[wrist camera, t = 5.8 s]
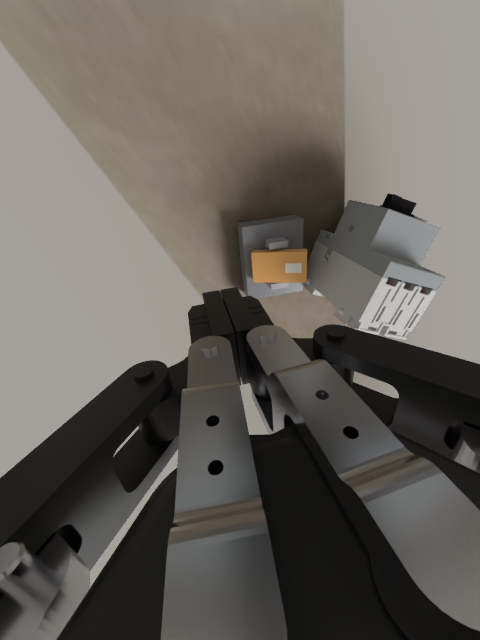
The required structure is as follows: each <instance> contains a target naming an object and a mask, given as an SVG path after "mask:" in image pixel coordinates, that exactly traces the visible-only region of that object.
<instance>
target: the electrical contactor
mask: <svg viewBox="0 0 480 640" xmlns="http://www.w3.org/2000/svg"><path fill="white" fill-rule="evenodd" d="M415 205H416V203H414V202H410V201H408V200H405V199H402V198H401V197H399V196H397V195H394V194H393V195H391V194H388V195H387V197H386V199H385V201H384V203H383V205H381V206H375V205H370V204H366V203H361V202H356V201H352V200H349V201H348V203H347V206H346V208H345V210H344V213H343V215H342V217H341V219H340V222H339V224H338V226H337V229H336V231H335V233H332V232H328V231H325V230H322V229H321V230H320V233H319V235H318V237H317V240H316V242H315V245H314V247H313V250H312V252H311V255H310V257H309V260H308V262H307V281H306V283H302V284H304V287H305V288H306V289H307V290H308V291H309V292H310V293H311V294H314V295H318V296H323V297H325V298H326V299H328V300H329V301H330V302H331V303H332V304H333V305H334V306H335V307H337V309H336V311H335V313H334V315H335V316H336V317H337V318H338V319H339V320H340V321H341V322H342V323H343V324H345V325H348V326H350V327H351V328H353V329H356V330H360V331H363V332H367V333H370V334H376V335H378V334H379V333H380V334H382V335H383V336H387V337H393V338H398V339H404V340H406V339H407V338H406V335H407V333H408V332H411V331H412V330H413V328H414V327H415V325H416V323H417V322H418V320H419V319H420V317H421V316H422V314H423V313H424V311H425V309H426V308H427V306H428V305H429V303H430V301H431V300H432V298H433V297H434V295H435V294H436V292H437V290H438V288H439V287H440V286H441V284H442V282H443V281H444V279H445V277H444V276H442V275H440V274H437V273H435V272H433V271H430V270H428V269H426V268H423V267H421V266H420V264H421V262H422V260H423V258H424V257H425V255H426V253H427V251H428V250H429V248H430V246H431V244H432V243H433V241H434V239H435V237H436V236H437V234H438V232H439V230H440V229H441V228H439V227H437V226H434V225H431V224H428V223H427V221H426V220H423V219H421V218H418V217H415V216H414V215H412V214H411V213H412V211H413V209H414V207H415Z"/></svg>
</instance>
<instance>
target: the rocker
mask: <svg viewBox="0 0 480 640" xmlns="http://www.w3.org/2000/svg"><path fill="white" fill-rule="evenodd" d="M251 258H252V270H253V283H306V281H307V249H272V250H253V251H252V252H251Z"/></svg>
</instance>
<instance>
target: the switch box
mask: <svg viewBox="0 0 480 640" xmlns="http://www.w3.org/2000/svg"><path fill="white" fill-rule="evenodd" d="M303 221H304V218H302V217H300V216H297V215H295V214H294V215H287V216H280V217H273V218H266V219H259V220H252V221H246V222H239V223H237V228H238V238H239V249H240V259H241V269H242V279H243V289H244V293H245V295H246V296H252V297H254V298H256V299H258V298H264V297H269V296H275V295H280V294H285V293H291V292H296V291H302V283H253V270H252V258H251V252H252V251H253V250H272V249H303Z"/></svg>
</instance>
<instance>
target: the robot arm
mask: <svg viewBox="0 0 480 640" xmlns="http://www.w3.org/2000/svg"><path fill="white" fill-rule="evenodd" d="M202 294H203V300H204V304H202V305H197V306H192V308H191V309H190V311H189V312H188V317H189V325H190V335H191V344H192V345H191V346H190V348H189V353H188V356H187V357H186V358H185V359H184V360H183V361H181V362H179V363H178V364H175V365H173V366H171V367H169V368H167V366H166V365H165V364H164V363H162V362H160V361H145V362H141V363H138V364H136V365H134V366H132V367H131V368H129V369H128V370H127V371H125V372H124V373H123V374H122V375H121V376H120V377H118V378H117V379H116V380H115V381H114V382H113V383H112V384H110V385H109V386H108V387H107V388H106V389H104V390H103V391H102V392H101V393H100V394H99V395H97V396H96V397H95V398H94V399H93V400H91V401H90V402H89V403H88V404H87V405H86V406H85V407H83V408H82V409H81V410H80V411H79V412H77V413H76V414H75V415H74V416H73V417H72V418H70V419H69V420H68V421H67V422H66V423H64V424H63V425H62V426H61V427H60V428H59V429H57V430H56V431H55V432H54V433H53V434H52V435H51V436H49V437H48V438H47V439H46V440H45V441H44V442H42V443H41V444H40V445H39V446H38V447H36V448H35V449H34V450H33V451H32V452H30V453H29V454H28V455H27V456H26V457H25V458H24V459H22V460H21V461H20V462H19V463H18V464H16V465H15V466H14V467H13V468H12V469H11V470H9V471H8V472H7V473H6V474H5V475H4V476H2V477H1V478H0V640H480V364H477V363H473V362H470V361H466V360H462V359H459V358H456V357H452V356H448V355H444V354H441V353H438V352H434V351H430V350H427V349H424V348H420V347H416V346H413V345H409V344H406V343H402V342H399V341H395V340H392V339H388V338H385V337H381V336H378V335H374V334H370V333H367V332H363V331H360V330H356V329H353V328H349V327H346V326H342V325H325V326H322V327H319V328H318V329H316V330H315V332H314V335H313V338H291V336H290V335H289V334H288V333H287V332H286V331H285V330H284V329H283V328H281V327H278V326H274V324H273V323H272V321H271V320H270V318H269V316H268V315H267V313H266V312H265V310H264V308H263V307H262V305H261V304H260V302H259V300H257V299H256V298H254V297H252V296H246V297H242V296H241V294H240V292H239V290H238V289H237V287H234V288H229V289H223V290H220V292H219V290H218V291H212V292H206V293H202ZM354 371H356V372H358V373H362V374H364V375H367V376H369V377H372V378H375V379H377V380H380V381H383V382H386V383H388V384H390V385H392V386H393V387H394V388H395V389H396V390H397V391H398V393H399V398H392V397H390V396H387V395H384V394H382V393H379V392H377V391H374V390H372V389H369V388H367V387H364V386H362V385H359V384H357V383H354V382H353V376H354ZM240 377H241V380H242V383H243V384H247V383H250V385H251V387H252V396H253V401H254V403H255V405H256V407H257V410H258V412H259V414H260V416H261V418H262V421H263V423H264V425H265V427H266V429H267V432H268V434H269V435H249V432H248V427H247V422H246V417H245V412H244V406H243V401H242V396H241V391H240V386H239V385H241V380H240ZM137 426H138V427H139V429H138V430H137V431H136V432H135V434H134V435H133V436H132V437H131V438H130V439H129V440H128V442H126V444H125V445H124V446H123V447H122V448H121V449H120V450H119V451H118V452H117V454H116V455H115V456H114V453H115V452H116V450H117V448H118V447H119V446H120V445H121V444H122V443H123V442H124V441H125V439H126V438H127V437H128V436H129V435H130V434H131V433H132V431H134V430H135V428H136V427H137ZM177 449H178V464H177V468H176V469H175V470H174V471H173V472H171V473H170V474H169V475H168V476H167V477H166V478H165V479H164V480H163V481H162V482H161V484H160V485H159V486H158V487H157V489H156V490H155V491H154V492H153V494H152V495H151V497H150V498H149V500H148V501H147V503H146V504H145V506H144V508H143V509H142V510H141V512H140V513H139V515H138V517H137V518H136V520H135V521H134V523H133V524H132V526H131V527H130V529H129V530H128V532H127V533H126V535H125V536H124V538H123V539H122V541H121V542H120V544H119V545H118V547H117V548H116V550H115V551H114V553H113V554H112V556H111V558H110V559H109V560H108V562H107V564H106V565H105V566H104V568H103V570H102V571H101V573H100V574H99V576H98V577H97V579H96V580H95V582H94V583H93V585H92V586H91V588H90V589H89V586H90V573H89V572H90V570H91V569H92V568H93V566H94V565H95V563H96V562H97V561H98V559H99V558H100V556H101V555H102V554H103V552H104V551H105V550H106V548H107V547H108V545H109V544H110V542H111V541H112V540H113V538H114V537H115V536H116V534H117V533H118V531H119V530H120V529H121V527H122V526H123V524H124V523H125V522H126V520H127V519H128V517H129V516H130V515H131V513H132V512H133V511H134V509H135V508H136V506H137V505H138V503H139V502H140V501H141V499H142V498H143V497H144V495H145V494H146V492H147V491H148V490H149V488H150V487H151V486H152V484H153V483H154V481H155V480H156V479H157V477H158V475H159V474H160V473H161V472H162V470H163V469H164V467H165V466H166V465H167V463H168V462H169V460H170V459H171V458H172V456H173V455H174V453H175V452H176V451H177ZM113 456H114V457H113Z"/></svg>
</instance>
